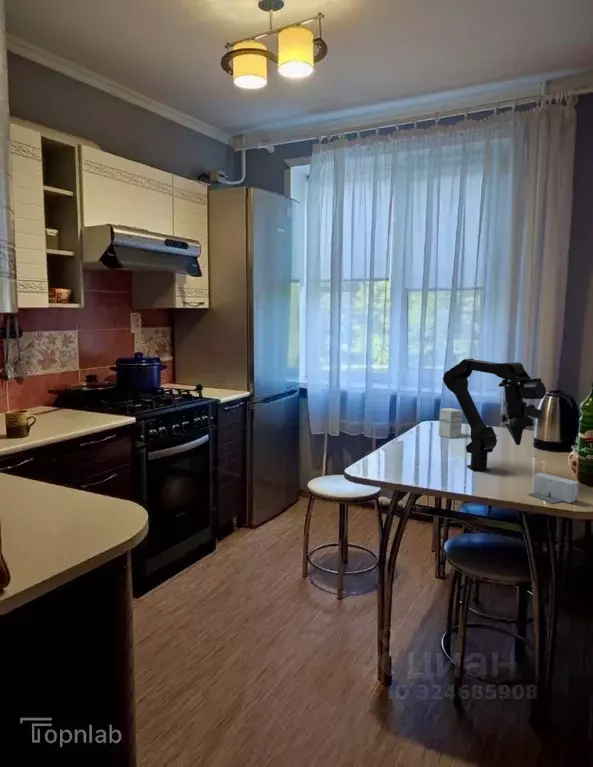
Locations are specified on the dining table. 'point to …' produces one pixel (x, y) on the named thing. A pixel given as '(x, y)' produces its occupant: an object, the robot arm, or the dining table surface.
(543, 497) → the pad
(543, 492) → the skincare box
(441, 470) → the dining table surface
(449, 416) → the supplement box
